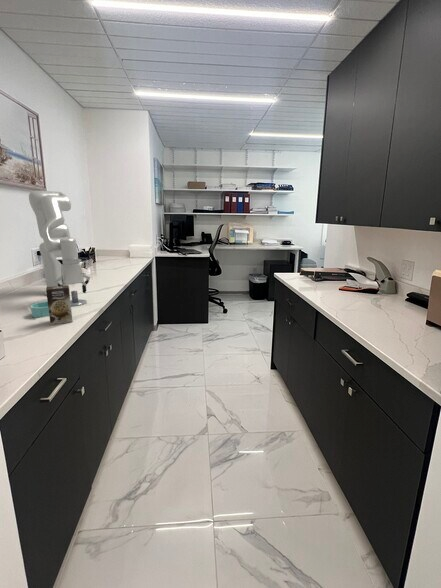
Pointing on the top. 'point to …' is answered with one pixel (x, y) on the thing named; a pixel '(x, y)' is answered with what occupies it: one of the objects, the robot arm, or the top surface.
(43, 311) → the bowl
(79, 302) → the lid
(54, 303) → the coffee box
